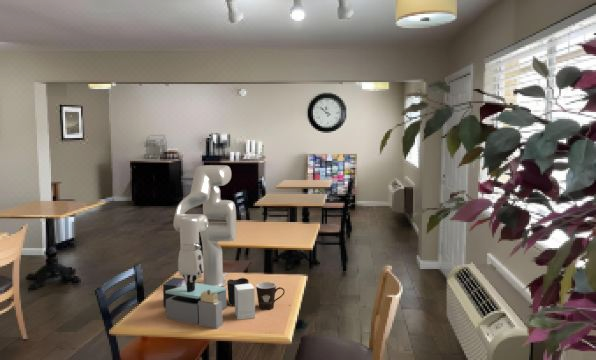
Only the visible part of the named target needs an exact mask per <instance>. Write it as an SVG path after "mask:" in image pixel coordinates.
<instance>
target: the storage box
mask: <svg viewBox="0 0 596 360" xmlns="http://www.w3.org/2000/svg"><path fill="white" fill-rule="evenodd" d="M226 309H227V289H226V290H225V291H222V292H219V293H218V301H216V302H214V303H210V302H205V301H201V298H199V299H196V298H190V297H184V296H179V295H175V296H173V297H170V298H168V299H166V307H165V310H166V311H165V312H166V314H165V315H166V319H168V320H172V321H176V322H177V321H178V322H183V323H187V324H193V325H196V326H198V325H199V326H202V327H207V328H212V329H219V328H220V327H222V326H223V311H224V310H226Z"/></svg>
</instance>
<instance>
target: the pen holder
mask: <svg viewBox="0 0 596 360" xmlns="http://www.w3.org/2000/svg"><path fill="white" fill-rule="evenodd" d="M240 284H249V279H247V278H244V277H241V278H237V279H228V280H227V281H226V285H227V299H228V304H229V305H231V306H233V307H235V291H234V285H240Z"/></svg>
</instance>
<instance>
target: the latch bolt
mask: <svg viewBox="0 0 596 360" xmlns="http://www.w3.org/2000/svg"><path fill="white" fill-rule="evenodd" d="M201 301H205V302H210V303H214V302H216V301H218V293H213V292H211V290H207V291H205V292H203V293H201Z"/></svg>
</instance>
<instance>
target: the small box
mask: <svg viewBox="0 0 596 360" xmlns="http://www.w3.org/2000/svg"><path fill="white" fill-rule="evenodd" d="M186 285H187V282H186V281H185V279H184V277H175V276H174V277H172V278H170V279H168V280H167V281H166V282H164V283H162V292H163V293H162V295H163V297H162V298H163V303H162V304H163V306H162V307H163V308H166V299H168V298H170V297H173V296H175V295H173V294H168V293H165V292H166V290H170V289H174V288H178V287H182V286H186Z"/></svg>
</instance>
